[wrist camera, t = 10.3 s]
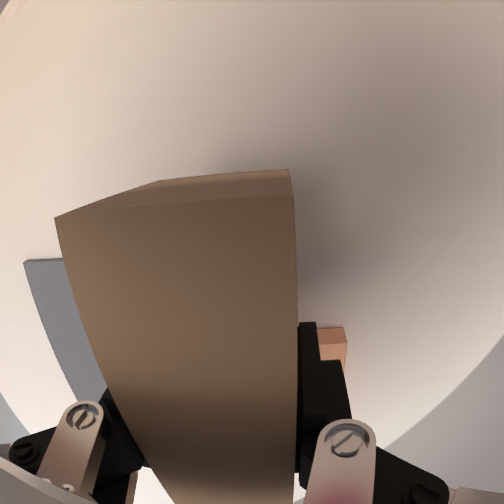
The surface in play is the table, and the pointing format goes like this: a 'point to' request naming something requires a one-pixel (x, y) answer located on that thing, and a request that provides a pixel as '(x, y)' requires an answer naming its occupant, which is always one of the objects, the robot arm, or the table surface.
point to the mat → (65, 327)
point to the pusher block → (196, 327)
